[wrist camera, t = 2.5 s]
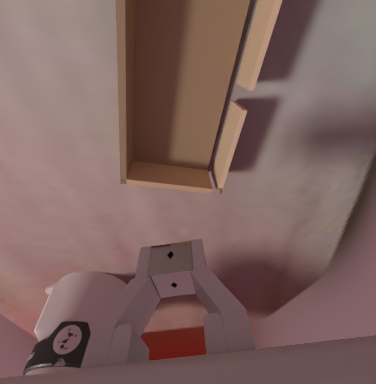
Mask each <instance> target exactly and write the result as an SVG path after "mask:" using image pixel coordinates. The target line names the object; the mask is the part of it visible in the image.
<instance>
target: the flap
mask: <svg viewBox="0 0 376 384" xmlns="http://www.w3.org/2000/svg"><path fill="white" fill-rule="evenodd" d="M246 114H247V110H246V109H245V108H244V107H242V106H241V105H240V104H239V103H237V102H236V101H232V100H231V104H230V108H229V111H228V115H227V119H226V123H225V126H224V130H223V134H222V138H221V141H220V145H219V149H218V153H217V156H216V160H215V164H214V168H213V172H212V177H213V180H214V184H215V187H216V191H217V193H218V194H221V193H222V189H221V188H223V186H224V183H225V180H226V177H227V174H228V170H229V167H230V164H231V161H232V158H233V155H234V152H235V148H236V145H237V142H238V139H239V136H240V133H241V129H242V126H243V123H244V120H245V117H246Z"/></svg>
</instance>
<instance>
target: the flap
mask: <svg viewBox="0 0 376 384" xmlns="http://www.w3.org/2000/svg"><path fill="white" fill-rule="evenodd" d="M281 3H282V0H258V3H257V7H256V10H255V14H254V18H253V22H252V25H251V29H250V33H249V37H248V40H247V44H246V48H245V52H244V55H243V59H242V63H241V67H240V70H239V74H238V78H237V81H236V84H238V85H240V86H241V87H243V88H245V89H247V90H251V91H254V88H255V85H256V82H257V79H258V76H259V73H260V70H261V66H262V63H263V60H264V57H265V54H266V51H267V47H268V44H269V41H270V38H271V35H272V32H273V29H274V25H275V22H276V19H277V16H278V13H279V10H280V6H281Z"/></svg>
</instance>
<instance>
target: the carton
mask: <svg viewBox="0 0 376 384" xmlns="http://www.w3.org/2000/svg"><path fill="white" fill-rule="evenodd" d="M249 3H250V0H116V22H117V60H118V99H119V137H120V175H121V184H130V185H139V186H148V187H157V188H166V189H175V190H184V191H194V192H203V193H212V190H213V189H212V185H211V181H210V177H209V174H208V167H209V163H210V159H211V155H212V151H213V147H214V143H215V139H216V135H217V131H218V127H219V123H220V119H221V115H222V111H223V107H224V103H225V99H226V95H227V91H228V87H229V83H230V79H231V75H232V71H233V67H234V63H235V59H236V55H237V51H238V47H239V43H240V39H241V35H242V31H243V27H244V23H245V19H246V15H247V11H248V7H249Z"/></svg>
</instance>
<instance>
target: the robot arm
mask: <svg viewBox="0 0 376 384" xmlns="http://www.w3.org/2000/svg"><path fill="white" fill-rule="evenodd" d="M45 292H46V293H47V295H48V296H49V297H48V300H47V302H46V304H45V306H44V309H43V311H42V313H41V316H40V318H39V320H38V322H37V325H36V327H35V330H34V333H35V334H36V337H37V338H38V343H37V344H36V345H35V347H34V349H33V351H32V353H31V355H30V356H29V358H28V360H27V362H26V366H25V369H24V371H23V376H14V377H6V378H0V384H376V335H375V336H366V337H357V338H349V339H340V340H331V341H322V342H314V343H304V344H296V345H287V346H279V347H270V348H261V349H256V345H255V342H254V338H253V334H252V331H251V327H250V323H249V320H248V316H247V312H246V308H245V307H244V306H243V305H242V304H241V303H240V302H239V301H238V300H237V299H236V298H235V296H234V295H233V294H232V293H231V292H230V291H229V290H228V289H227V288H226V287H225V285H224V284H223V283H222V282H221V281H220V280H219V279H218V278H217V277H216V276H215V275H214V273H213V272H212V271H211V270H210V269H207V267H206V261H205V255H204V249H203V243H202V239H199V240H192V241H185V242H178V243H172V244H167V245H158V246H150V247H142V248H141V250H140V253H139V259H138V264H137V269H136V275H135V279H131V280H130V282H129V283H128V284H126V283H125V282H123V281H122V280H121V279H119V278H117V277H115V276H113V275H110V274H107V273H103V272H97V271H79V272H74V273H70V274H68V275H66V276H64V277H63V278H61V279H60V280H59V281H58V282H57V283H55V284H52V285H50V286H47V287H46V289H45ZM188 294H196V296H197V297H198V298H199V300H200V301H201V303H202V304H203V306H204V307H205V309H206V310H207V312H208V313H209V314H206V315H205V317H204V330H205V341H206V352H207V355H200V356H191V357H182V358H173V359H164V360H155V361H148V358H149V349H148V348H147V346H146V345H145V344H144V342H143V341H142V340H141V338H140V336H141V335H142V333H143V331H144V329H145V327H146V325H147V324H148V322H149V320H150V318H151V316H152V314H153V313H154V311H155V309H156V307H157V305H158V303H159V301H160V300H161V299H160V298H166V297H172V296H178V295H188Z"/></svg>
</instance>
